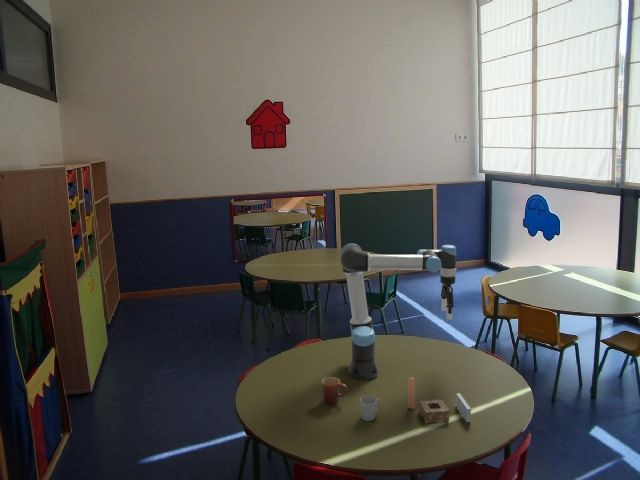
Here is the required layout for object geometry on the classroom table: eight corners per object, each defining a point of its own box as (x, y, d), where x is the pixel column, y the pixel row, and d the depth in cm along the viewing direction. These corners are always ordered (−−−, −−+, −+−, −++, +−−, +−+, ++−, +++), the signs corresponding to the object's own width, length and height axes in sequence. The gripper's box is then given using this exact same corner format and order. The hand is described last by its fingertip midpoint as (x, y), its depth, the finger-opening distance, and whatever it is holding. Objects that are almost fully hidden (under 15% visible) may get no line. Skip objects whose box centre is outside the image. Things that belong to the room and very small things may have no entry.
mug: (319, 405, 249) (318, 384, 247) (325, 396, 257) (324, 375, 255) (344, 408, 245) (344, 387, 243) (349, 399, 253) (349, 379, 251)
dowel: (409, 409, 243) (409, 379, 241) (407, 406, 246) (407, 377, 243) (415, 408, 244) (415, 379, 241) (413, 405, 246) (413, 376, 244)
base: (466, 423, 231) (467, 409, 230) (455, 406, 244) (456, 393, 243) (470, 422, 231) (470, 408, 230) (459, 406, 245) (459, 393, 243)
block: (425, 423, 231) (426, 412, 230) (419, 411, 241) (419, 401, 240) (449, 421, 232) (449, 410, 231) (441, 409, 242) (442, 399, 241)
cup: (356, 416, 238) (355, 398, 236) (374, 410, 243) (374, 392, 242) (366, 424, 232) (366, 405, 230) (385, 417, 237) (385, 399, 235)
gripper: (460, 281, 269) (459, 323, 273) (450, 269, 293) (448, 307, 297) (445, 281, 269) (443, 323, 273) (436, 269, 293) (434, 307, 298)
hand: (446, 314), depth 285 cm, fingers open, 13 cm apart
